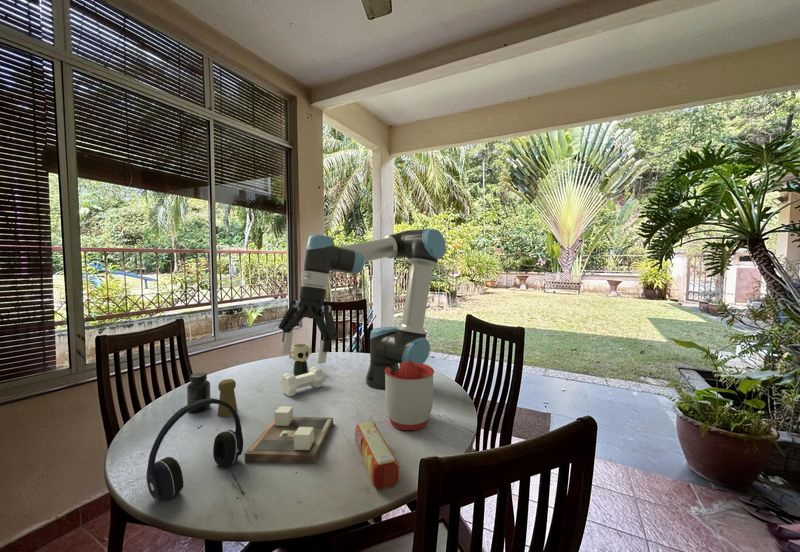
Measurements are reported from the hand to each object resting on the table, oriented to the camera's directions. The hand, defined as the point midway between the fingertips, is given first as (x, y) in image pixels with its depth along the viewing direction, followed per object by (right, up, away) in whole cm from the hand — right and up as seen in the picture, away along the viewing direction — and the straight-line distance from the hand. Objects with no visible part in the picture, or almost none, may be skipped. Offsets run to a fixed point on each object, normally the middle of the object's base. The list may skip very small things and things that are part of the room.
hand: (303, 358), depth 98 cm
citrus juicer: (+31, -22, +9) cm, 39 cm away
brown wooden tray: (-2, -23, -3) cm, 23 cm away
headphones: (-19, -24, -19) cm, 36 cm away
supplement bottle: (-40, -21, +16) cm, 48 cm away
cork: (-29, -22, +14) cm, 39 cm away
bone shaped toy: (-10, -21, +33) cm, 40 cm away
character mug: (-16, -20, +51) cm, 57 cm away
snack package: (+22, -24, -13) cm, 35 cm away
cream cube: (+3, -21, -10) cm, 23 cm away
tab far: (-7, -20, +3) cm, 21 cm away
